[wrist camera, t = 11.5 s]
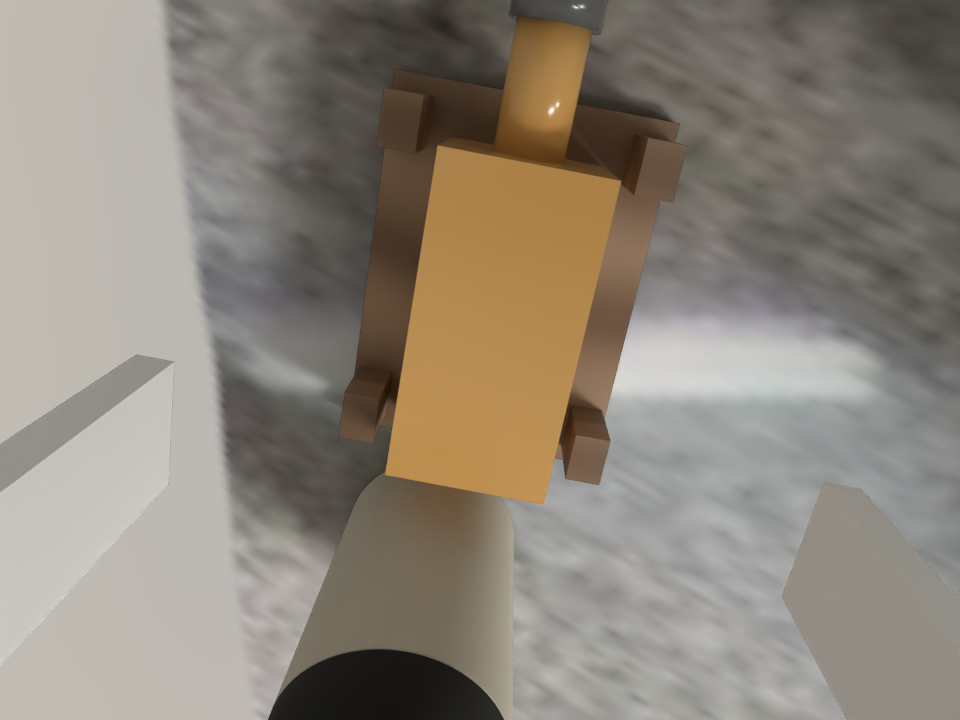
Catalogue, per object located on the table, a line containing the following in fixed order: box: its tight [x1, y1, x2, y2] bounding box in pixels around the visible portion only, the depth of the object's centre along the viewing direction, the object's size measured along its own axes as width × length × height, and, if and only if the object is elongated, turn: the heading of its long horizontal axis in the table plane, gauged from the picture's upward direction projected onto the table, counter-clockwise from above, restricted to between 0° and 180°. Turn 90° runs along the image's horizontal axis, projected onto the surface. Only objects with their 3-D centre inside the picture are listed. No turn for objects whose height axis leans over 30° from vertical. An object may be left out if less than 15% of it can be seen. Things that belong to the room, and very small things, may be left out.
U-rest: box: [339, 69, 687, 485], centre depth 31 cm, size 15×11×4 cm
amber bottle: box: [385, 0, 621, 504], centre depth 28 cm, size 18×6×6 cm, turn 170°
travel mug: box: [268, 471, 514, 720], centre depth 28 cm, size 8×8×18 cm
